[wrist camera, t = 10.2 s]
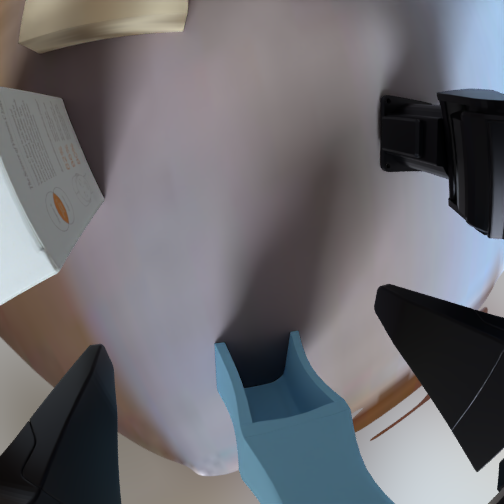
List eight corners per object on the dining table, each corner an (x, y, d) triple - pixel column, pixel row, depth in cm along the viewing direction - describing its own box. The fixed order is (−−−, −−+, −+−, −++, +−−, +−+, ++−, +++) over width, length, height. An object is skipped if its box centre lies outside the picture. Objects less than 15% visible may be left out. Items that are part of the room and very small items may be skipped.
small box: (2, 138, 14) (-98, 163, 4) (64, 96, 14) (-23, 77, 5) (45, 236, 17) (-23, 323, 8) (107, 201, 18) (59, 275, 9)
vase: (217, 398, 28) (279, 575, 11) (214, 343, 25) (297, 571, 8) (288, 384, 30) (373, 539, 13) (298, 330, 27) (420, 513, 10)
